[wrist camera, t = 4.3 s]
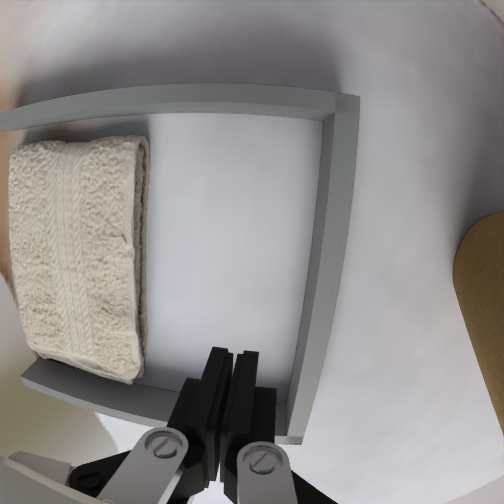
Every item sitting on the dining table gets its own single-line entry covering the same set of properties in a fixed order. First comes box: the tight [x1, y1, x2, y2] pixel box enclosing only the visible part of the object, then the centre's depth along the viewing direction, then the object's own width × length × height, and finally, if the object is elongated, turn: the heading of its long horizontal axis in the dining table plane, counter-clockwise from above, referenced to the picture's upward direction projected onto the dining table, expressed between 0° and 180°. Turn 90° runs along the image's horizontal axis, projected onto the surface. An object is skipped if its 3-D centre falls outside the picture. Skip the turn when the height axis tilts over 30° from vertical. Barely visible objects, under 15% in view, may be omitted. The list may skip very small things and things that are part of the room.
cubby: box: [0, 83, 360, 445], centre depth 18 cm, size 22×24×4 cm
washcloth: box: [8, 134, 150, 385], centre depth 19 cm, size 12×18×3 cm, turn 174°
